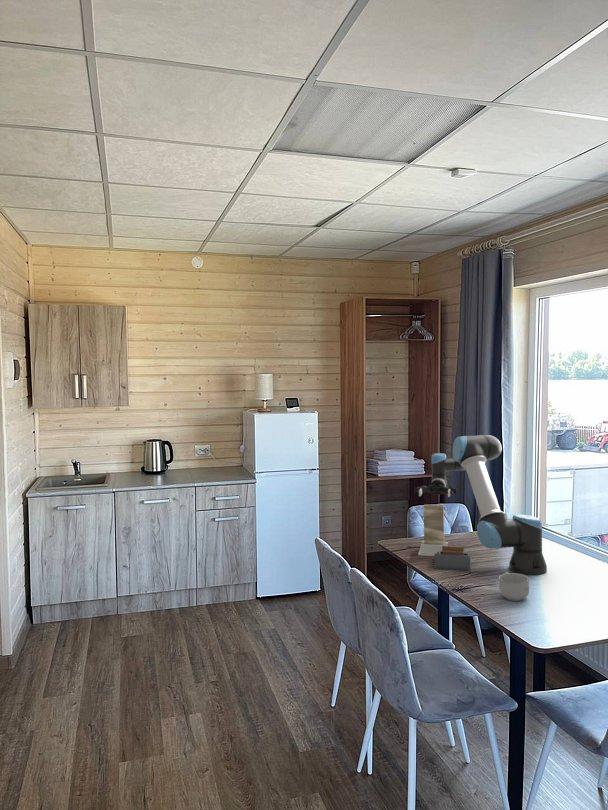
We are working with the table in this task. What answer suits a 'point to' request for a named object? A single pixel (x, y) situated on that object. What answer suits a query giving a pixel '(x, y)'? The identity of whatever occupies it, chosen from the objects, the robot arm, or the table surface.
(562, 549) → the table surface
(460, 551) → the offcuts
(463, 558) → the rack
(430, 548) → the stand
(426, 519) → the birch sheet
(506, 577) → the teacup
